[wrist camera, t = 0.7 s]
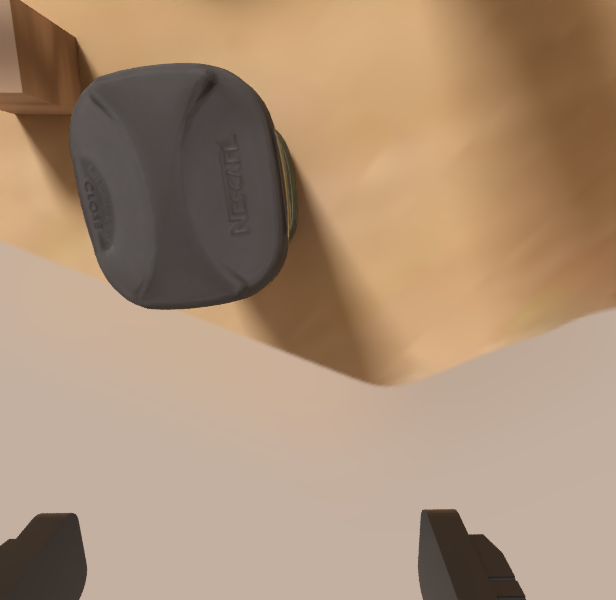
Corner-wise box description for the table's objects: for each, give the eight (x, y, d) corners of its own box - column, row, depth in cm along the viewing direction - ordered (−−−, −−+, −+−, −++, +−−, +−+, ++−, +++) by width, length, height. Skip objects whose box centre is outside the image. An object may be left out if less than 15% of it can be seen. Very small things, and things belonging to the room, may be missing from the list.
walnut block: (4, 37, 30) (-85, -9, 23) (75, 37, 30) (8, -8, 23) (15, 114, 31) (-66, 91, 25) (84, 114, 31) (22, 92, 25)
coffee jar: (180, 132, 32) (12, 50, 14) (287, 118, 31) (261, 16, 13) (204, 262, 34) (86, 339, 16) (304, 250, 34) (300, 314, 16)
